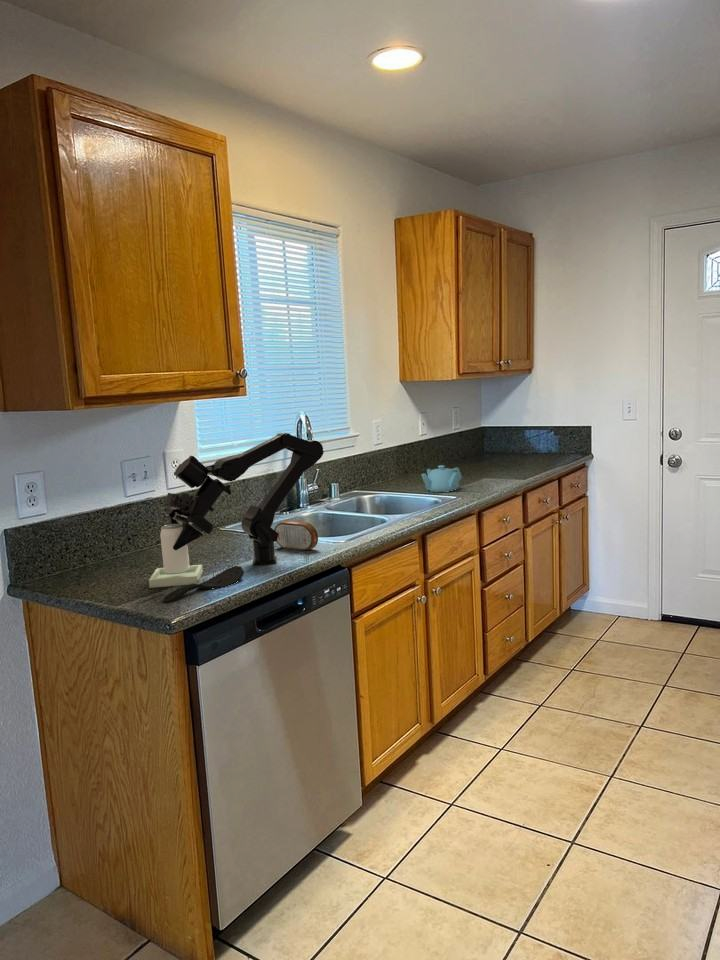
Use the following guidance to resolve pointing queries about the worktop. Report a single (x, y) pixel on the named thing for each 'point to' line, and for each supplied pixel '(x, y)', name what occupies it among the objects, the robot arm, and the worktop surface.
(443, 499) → the worktop surface
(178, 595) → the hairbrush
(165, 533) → the can
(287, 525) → the tin
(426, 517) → the worktop surface
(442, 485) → the teapot
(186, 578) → the tray
